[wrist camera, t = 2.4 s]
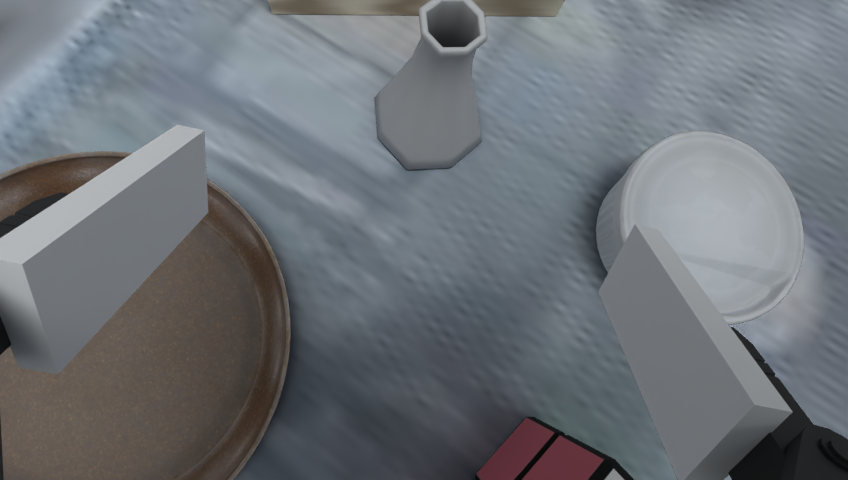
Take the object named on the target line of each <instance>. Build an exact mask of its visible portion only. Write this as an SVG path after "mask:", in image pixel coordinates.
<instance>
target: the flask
mask: <svg viewBox="0 0 848 480" xmlns="http://www.w3.org/2000/svg"><path fill="white" fill-rule="evenodd" d="M419 20H420V30H421V39H420V41H419V43H418V45H417V47H416V49H415V51H414V53H413V56H412V58H411V59H410V60H409V61H408V62H407V63H406V64H405V66H404V67H403V68H402V69H401V70H400V71H399V72H398V74H397V75H396V76H395V77H394V78H393V79H392V80H391V81H390V82H389V83H388V84H387V85H386V86H385V87H384V88H383V89H382V90H381V91H380V92H379V93H378V94H377V95H376V97H375V107H376V120H377V133H378V138H379V140H380V141H381V142H382V143H383V144H384V145H385V146H386V147H387V148H388V149H389V150H390V152H391V153H392V154H393V155H394V156H395V157H396V158H397V159H398V160H399V161H400V163H401V164H402V165H403V166H404V167H405V168H406V169H407V170H414V169H434V168H451V167H452V166H453V165H455V164H456V163H457V162H458V161H459V160H460V159H462V158H463V157H464V156H465V155H466V154H468V153H469V152H470V151H471V150H472V149H474V148H475V147H476V146H477V145H478V144H480V143H481V142H482V139H481V131H480V123H479V115H478V107H477V100H476V95H475V91H474V87H473V83H472V79H471V75H472V60H473V57H474V54H475V51H476V49H477V48H478V47H480V46H481V45H482V44H483V43H485V42H486V40H487V38H488V35H487V28H486V21H485V13H484V12H483V11H482V10H481V9H480V8H479V7H478V6H477V4H476V3H475V2H474V1H473V0H430V1H429V2H427V3H426V4H425V5H423V6H422V7H420V8H419Z"/></svg>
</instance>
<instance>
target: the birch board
mask: <svg viewBox="0 0 848 480" xmlns="http://www.w3.org/2000/svg"><path fill="white" fill-rule="evenodd" d="M268 1H269V4H270V8H271V11H272V14H331V15H419V8H420V7H422V6H423V5H425V4H426V3H427V2H429V1H430V0H268ZM473 1H474V2H475V3H476V4H477V6H478V7H479V8H480V9H481V10H482V11H483V12H484V13H485V16H556V15H557V13H558V11H559V10H560V8H561V6H562V4H563V3H564V1H565V0H473Z"/></svg>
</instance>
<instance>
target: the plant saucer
mask: <svg viewBox="0 0 848 480" xmlns="http://www.w3.org/2000/svg"><path fill="white" fill-rule="evenodd" d="M131 154H132V153H127V152H111V151H97V152H80V153H72V154H65V155H59V156H55V157H51V158H47V159H43V160H38V161H34V162H31V163H28V164H25V165H22V166H19V167H16V168H14V169H12V170H9V171H6V172H4V173H2V174H0V221H2V220H4V219H5V218H7V217H8V216H10V215H15V212H17V211H18V210H20V209H22V208H23V207H25V206H27V205H28V204H30V203H32V202H33V201H35V200H38V199H41V198H45V197H48V196H51V195H54V194H57V193H60V192H62V193H67V194H70V193H71V192H73V191H75V190H76V189H78V188H79V187H81V186H82V185H84V184H86V183H87V182H89V181H90V180H92V179H93V178H95V177H96V176H98V175H100V174H101V173H103V172H104V171H106V170H107V169H109V168H111V167H112V166H114V165H115V164H117V163H118V162H120V161H121V160H123V159H125V158H126V157H128V156H129V155H131ZM207 194H208V213H207V214H206V215H205V216H204V217H203V219H202V220H201V221H200V222H199V223H198V224H197V225H196V226H195V227H194V228H193V229H192V230H191V231H190V233H189V234H188V235H187V236H186V237H185V238H184V239H183V240H182V241H181V242H180V243H179V244H178V246H177V247H176V248H175V249H174V250H173V251H172V252H171V253H170V254H169V255H168V256H167V257H166V258H165V260H164V261H163V262H162V263H161V264H160V265H159V266H158V267H157V268H156V269H155V270H154V271H153V273H152V274H151V275H150V276H149V277H148V278H147V279H146V280H145V281H144V282H143V283H142V284H141V286H140V287H139V288H138V289H137V290H136V291H135V292H134V293H133V294H132V295H131V296H130V297H129V298H128V300H127V301H126V302H125V303H124V304H123V305H122V306H121V307H120V308H119V309H118V310H117V311H116V313H115V314H114V315H113V316H112V317H111V318H110V319H109V320H108V321H107V322H106V323H105V324H104V325H103V327H102V328H101V329H100V330H99V331H98V332H97V333H96V334H95V335H94V336H93V337H92V338H91V340H90V341H89V342H88V343H87V344H86V345H85V346H84V347H83V348H82V349H81V350H80V351H79V352H78V354H77V355H76V356H75V357H74V358H73V359H72V360H71V361H70V362H69V363H68V364H67V365H66V367H65V368H64V369H63V370H62V371H61V372H60V373H59V374H54V373H48V372H43V371H37V370H31V369H26V368H20V367H18V365H17V363H16V360H15V358H14V355H13V353H12V350H11V348H10V347H9V348H8V349H6V350H5V351H4V352H3V353H2V354H1V355H0V416H1V435H2V455H3V475H4V480H233V479H234V478H235V477H236V476H237V475H238V473H239V472H240V471H241V470H242V468H243V467H244V466H245V464H246V463H247V462H248V460H249V459H250V457H251V456H252V454H253V452H254V451H255V449H256V448H257V446H258V445H259V443H260V441H261V439H262V437H263V435H264V434H265V432H266V430H267V428H268V426H269V423H270V421H271V419H272V417H273V414H274V412H275V409H276V407H277V404H278V401H279V399H280V396H281V392H282V389H283V385H284V381H285V377H286V372H287V367H288V361H289V352H290V337H291V323H290V310H289V303H288V295H287V291H286V286H285V282H284V278H283V275H282V272H281V269H280V266H279V263H278V261H277V258H276V256H275V254H274V252H273V250H272V248H271V246H270V244H269V242H268V240H267V238H266V237H265V235H264V234H263V232H262V231H261V229H260V228H259V226H258V225H257V223H256V222H255V221H254V220H253V219H252V217H251V216H250V215H249V214H248V213H247V211H246V210H245V209H244V208H243V207H242V206H241V205H240V204H239V203H238V202H237V201H236V200H235V199H233V198H232V197H231V196H230V195H229V194H228V193H226V192H225V191H224V190H223V189H221V188H220V187H219V186H217V185H216V184H214V183H213V182H211V181H210V180H208V179H207Z"/></svg>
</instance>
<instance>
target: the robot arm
mask: <svg viewBox="0 0 848 480" xmlns="http://www.w3.org/2000/svg"><path fill="white" fill-rule="evenodd" d="M207 213H208V194H207V174H206V155H205V135H204V130H199V129H195V128H190V127H185V126H181V125H176V126H175V127H173V128H171V129H170V130H168V131H167V132H165V133H164V134H162V135H161V136H159V137H157V138H156V139H154V140H153V141H151V142H150V143H148V144H146V145H145V146H143V147H142V148H140V149H139V150H137V151H136V152H134V153H132V154H131V155H129V156H128V157H126V158H125V159H123V160H121V161H120V162H118V163H117V164H115V165H114V166H112V167H111V168H109V169H107V170H106V171H104V172H103V173H101V174H100V175H98V176H96V177H95V178H93V179H92V180H90V181H89V182H87V183H86V184H84V185H82V186H81V187H79V188H78V189H76V190H75V191H73V192H71V193H70V194H67V193H62V192H60V193H57V194H54V195H51V196H48V197H45V198H41V199H38V200H35V201H33V202H32V203H30V204H28V205H27V206H25V207H23V208H22V209H20V210H18V211H17V212H15V215H10V216H8V217H7V218H5V219H4V220H2V221H0V355H1V354H2V353H3V352H4V351H5V350H6V349H8V348H9V347H10V348H11V350H12V353H13V355H14V358H15V360H16V363H17V365H18V367H20V368H26V369H31V370H37V371H43V372H48V373H54V374H59V373H60V372H61V371H62V370H63V369H64V368H65V367H66V365H67V364H68V363H69V362H70V361H71V360H72V359H73V358H74V357H75V356H76V355H77V354H78V352H79V351H80V350H81V349H82V348H83V347H84V346H85V345H86V344H87V343H88V342H89V341H90V340H91V338H92V337H93V336H94V335H95V334H96V333H97V332H98V331H99V330H100V329H101V328H102V327H103V325H104V324H105V323H106V322H107V321H108V320H109V319H110V318H111V317H112V316H113V315H114V314H115V313H116V311H117V310H118V309H119V308H120V307H121V306H122V305H123V304H124V303H125V302H126V301H127V300H128V298H129V297H130V296H131V295H132V294H133V293H134V292H135V291H136V290H137V289H138V288H139V287H140V286H141V284H142V283H143V282H144V281H145V280H146V279H147V278H148V277H149V276H150V275H151V274H152V273H153V271H154V270H155V269H156V268H157V267H158V266H159V265H160V264H161V263H162V262H163V261H164V260H165V258H166V257H167V256H168V255H169V254H170V253H171V252H172V251H173V250H174V249H175V248H176V247H177V246H178V244H179V243H180V242H181V241H182V240H183V239H184V238H185V237H186V236H187V235H188V234H189V233H190V231H191V230H192V229H193V228H194V227H195V226H196V225H197V224H198V223H199V222H200V221H201V220H202V219H203V217H204V216H205V215H206V214H207ZM598 293H599V295H600V298H601V300H602V302H603V305H604V307H605V309H606V312H607V314H608V316H609V319H610V321H611V323H612V326H613V328H614V331H615V333H616V335H617V338H618V340H619V342H620V345H621V347H622V349H623V352H624V354H625V356H626V359H627V361H628V364H629V366H630V368H631V371H632V373H633V375H634V378H635V380H636V382H637V385H638V387H639V389H640V392H641V394H642V396H643V399H644V401H645V404H646V406H647V408H648V411H649V413H650V415H651V418H652V420H653V422H654V425H655V427H656V429H657V432H658V434H659V436H660V439H661V441H662V444H663V446H664V448H665V451H666V453H667V455H668V458H669V460H670V462H671V465H672V467H673V469H674V472H675V474H676V476H677V479H678V480H723V479H724V478H726V477H727V476H728V475H730V477H731V479H732V480H848V440H847V439H846V438H845V437H843V436H841V435H839V434H838V433H836V432H834V431H832V430H830V429H827V428H824V427H820V426H816V425H813V423H812V422H811V421H810V419H809V418H808V417H807V415H806V414H805V413H804V412H803V410H802V409H801V408H800V406H799V405H798V404H797V402H796V401H795V400H794V398H793V397H792V396H791V394H790V393H789V392H788V390H787V389H786V388H785V386H784V385H783V384H782V383H781V381H780V380H779V379H778V378H776V377H775V373H774V372H773V371H772V369H771V368H770V367H769V365H768V364H766V363H764V361H765V360H764V359H763V357H762V356H761V355H760V354H759V352H758V351H757V350H756V348H755V347H754V346H753V344H752V343H751V342H749V341H748V340H747V339H746V338H745V337H744V336H743V335H741V334H740V333H739V332H738V331H737V330H736V329H735V328H733V327H730V326H729V325H728V323H727V322H726V320H725V319H724V318H723V316H722V315H721V314H720V312H719V311H718V310H717V308H716V307H715V306H714V304H713V303H712V301H711V300H710V299H709V297H708V296H707V295H706V293H705V292H704V291H703V289H702V288H701V286H700V285H699V284H698V282H697V281H696V280H695V278H694V277H693V276H692V274H691V273H690V272H689V270H688V269H687V267H686V266H685V265H684V263H683V262H682V261H681V259H680V258H679V257H678V255H677V254H676V252H675V251H674V250H673V248H672V247H671V246H670V244H669V243H668V242H667V240H666V239H665V237H664V236H663V235H662V233H661V232H660V231H659V229H656V228H651V227H647V226H642V225H637V224H635V225H634V226H633V228H632V230H631V232H630V234H629V236H628V238H627V239H626V241H625V243H624V245H623V247H622V249H621V250H620V252H619V254H618V256H617V258H616V260H615V262H614V263H613V265H612V267H611V269H610V271H609V273H608V275H607V276H606V278H605V280H604V282H603V284H602V286H601V288H600V289H599V291H598ZM0 480H4V475H3V455H2V435H1V416H0Z"/></svg>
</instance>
